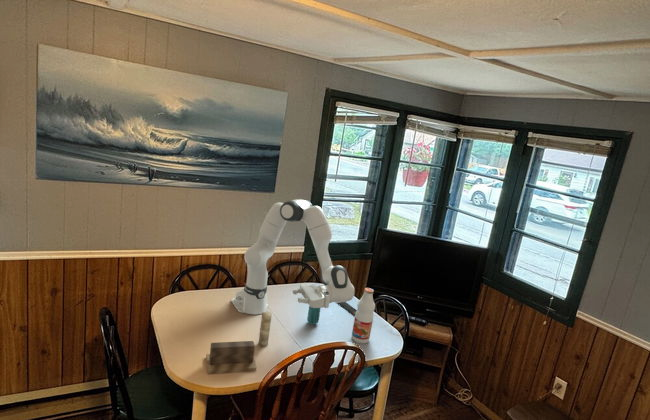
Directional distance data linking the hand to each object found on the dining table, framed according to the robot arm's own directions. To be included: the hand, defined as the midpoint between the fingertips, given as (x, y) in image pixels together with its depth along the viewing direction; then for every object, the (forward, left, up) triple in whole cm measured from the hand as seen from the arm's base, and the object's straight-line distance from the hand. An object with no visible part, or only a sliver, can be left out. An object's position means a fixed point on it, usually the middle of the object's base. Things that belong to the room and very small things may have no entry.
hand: (295, 296), depth 197 cm
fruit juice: (+14, +36, -25) cm, 46 cm away
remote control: (-13, +56, -25) cm, 62 cm away
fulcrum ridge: (+2, -33, -25) cm, 41 cm away
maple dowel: (-5, -12, -25) cm, 28 cm away
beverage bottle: (-10, +23, -25) cm, 35 cm away
